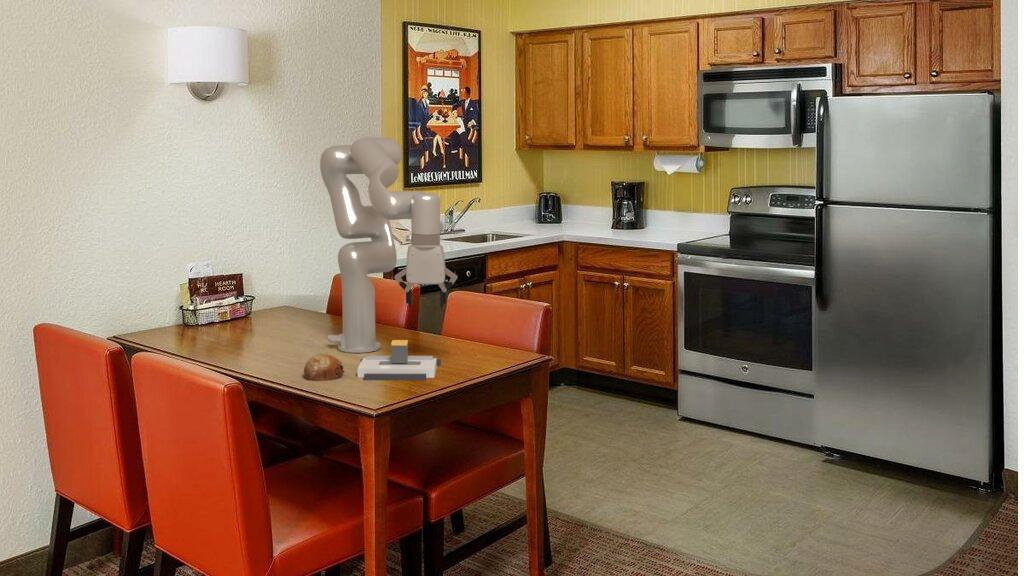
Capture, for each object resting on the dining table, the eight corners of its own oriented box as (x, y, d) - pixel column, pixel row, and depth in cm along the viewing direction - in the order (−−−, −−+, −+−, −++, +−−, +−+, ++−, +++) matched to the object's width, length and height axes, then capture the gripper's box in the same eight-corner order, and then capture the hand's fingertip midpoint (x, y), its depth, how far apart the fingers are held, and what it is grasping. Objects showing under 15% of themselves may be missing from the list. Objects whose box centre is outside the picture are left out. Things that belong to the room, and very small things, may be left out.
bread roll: (314, 385, 258) (300, 359, 257) (348, 369, 259) (335, 342, 257) (309, 395, 249) (295, 368, 247) (345, 378, 249) (331, 351, 247)
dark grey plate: (352, 380, 250) (352, 374, 250) (361, 363, 267) (361, 358, 267) (437, 380, 250) (437, 375, 250) (440, 364, 268) (440, 359, 268)
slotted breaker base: (357, 377, 252) (357, 365, 252) (363, 366, 264) (363, 355, 264) (434, 377, 253) (434, 365, 253) (436, 366, 265) (436, 355, 264)
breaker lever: (391, 363, 257) (391, 342, 256) (392, 360, 260) (392, 340, 259) (407, 363, 257) (406, 342, 256) (408, 360, 260) (407, 340, 259)
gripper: (391, 241, 249) (391, 308, 252) (458, 242, 250) (458, 309, 253) (393, 238, 257) (394, 303, 260) (459, 239, 257) (459, 304, 260)
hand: (426, 306), depth 256 cm, fingers open, 7 cm apart
